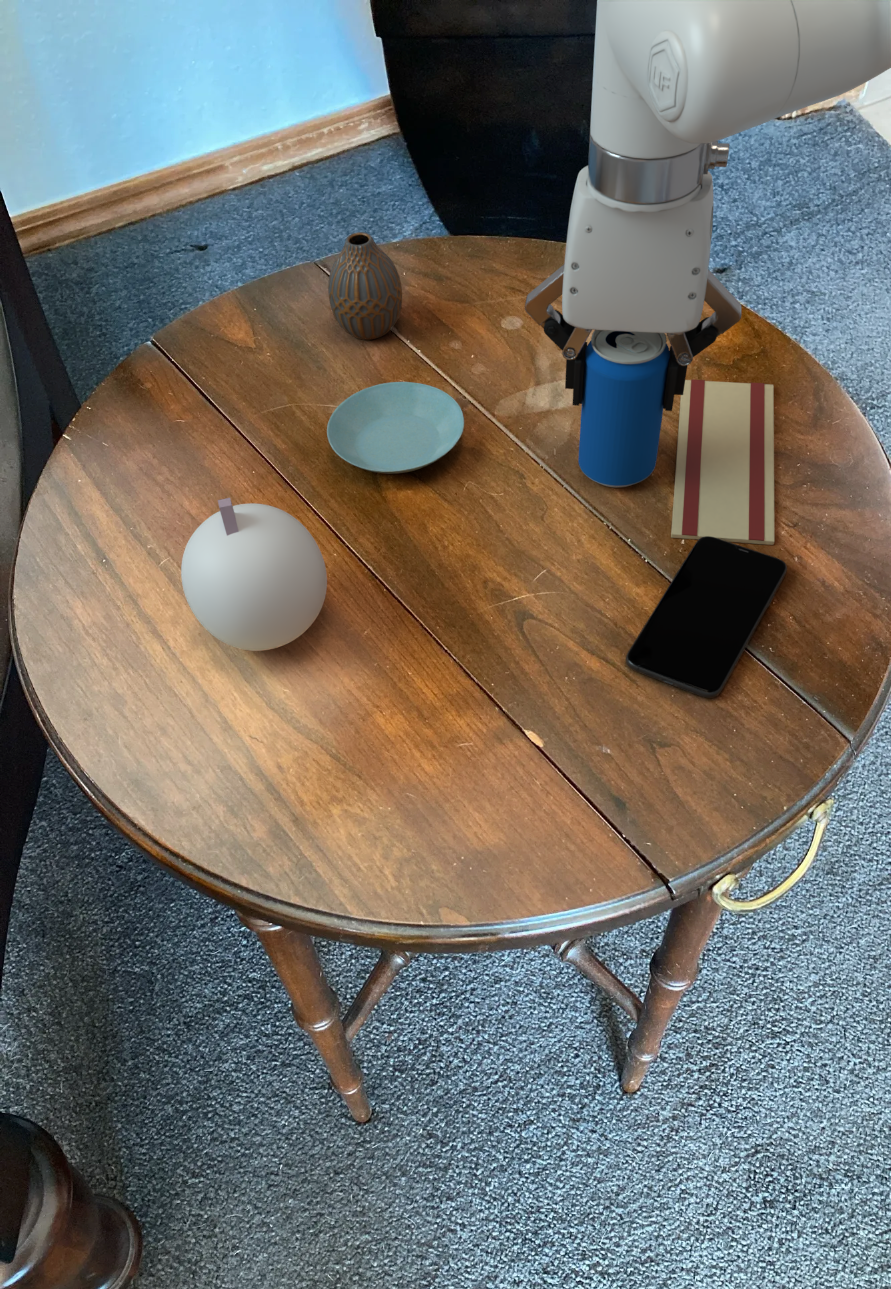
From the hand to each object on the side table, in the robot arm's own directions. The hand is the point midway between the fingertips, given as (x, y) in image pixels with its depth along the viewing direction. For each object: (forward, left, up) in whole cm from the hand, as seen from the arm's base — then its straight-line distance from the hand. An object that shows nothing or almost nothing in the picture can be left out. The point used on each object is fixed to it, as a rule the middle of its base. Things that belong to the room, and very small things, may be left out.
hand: (623, 395), depth 85 cm
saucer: (+19, -1, -7) cm, 20 cm away
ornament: (+25, +21, -7) cm, 34 cm away
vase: (+25, -18, -7) cm, 32 cm away
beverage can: (0, 0, -7) cm, 7 cm away
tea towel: (-9, -2, -7) cm, 12 cm away
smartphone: (-8, +16, -7) cm, 20 cm away
